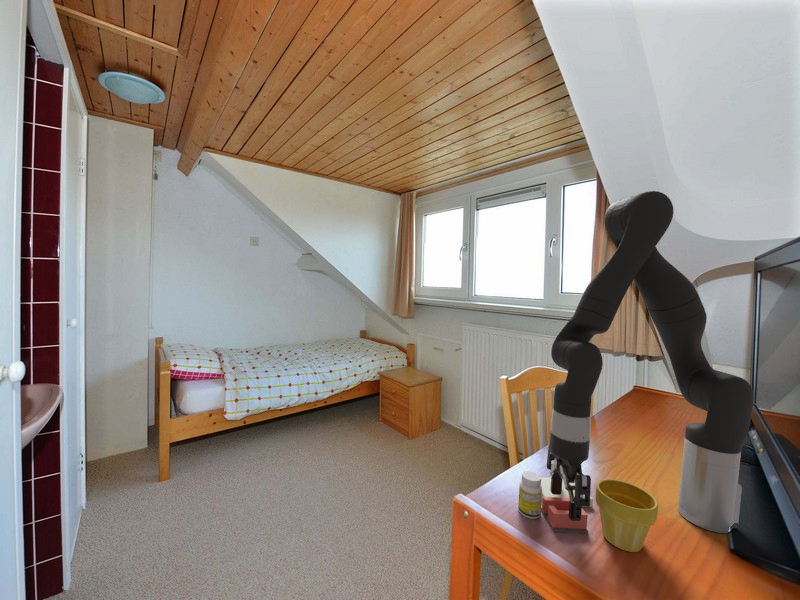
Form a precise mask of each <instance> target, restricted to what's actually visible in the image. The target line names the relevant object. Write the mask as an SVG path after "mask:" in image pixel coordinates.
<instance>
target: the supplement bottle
mask: <svg viewBox="0 0 800 600" xmlns="http://www.w3.org/2000/svg"><path fill="white" fill-rule="evenodd" d="M520 479H521V480H520V482H519V486H518V487H519V488H518V489H519V490H518V493H519V494H518V507H517V509H518V512H519V513H520V515H522V516H523V517H525V518H528V519H532V520H536V519H538V518H540V517H541V513H542V511H541V508H542V486H541V476H540V474H539V473H536V472H535V471H532V470H525V471H523V472H522V473H521V478H520Z"/></svg>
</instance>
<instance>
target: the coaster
mask: <svg viewBox="0 0 800 600" xmlns="http://www.w3.org/2000/svg"><path fill="white" fill-rule="evenodd" d="M541 513H542V514H543V516H544V518H545V519H546V521H547V522H548V524H549V526H550V527H551V529H552V530H553V532H554V533H565V534H566V533H568V534H569V533H570V534H589V530H588V529H574V528H553V527H552V525H551V524H550V522H549V521H548V513H544V512H543V511H542V507H541Z"/></svg>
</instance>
